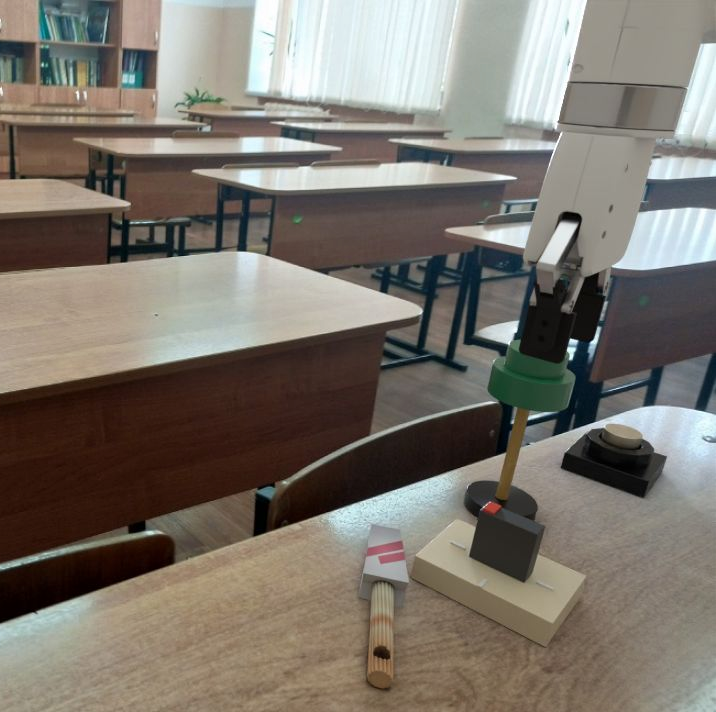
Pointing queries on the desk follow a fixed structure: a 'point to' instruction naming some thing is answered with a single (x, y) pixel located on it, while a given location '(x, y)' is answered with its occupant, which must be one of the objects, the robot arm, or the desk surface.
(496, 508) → the dimmer knob
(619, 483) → the lamp switch
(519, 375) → the desk lamp
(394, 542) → the paintbrush
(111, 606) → the desk surface
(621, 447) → the button
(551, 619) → the dimmer
